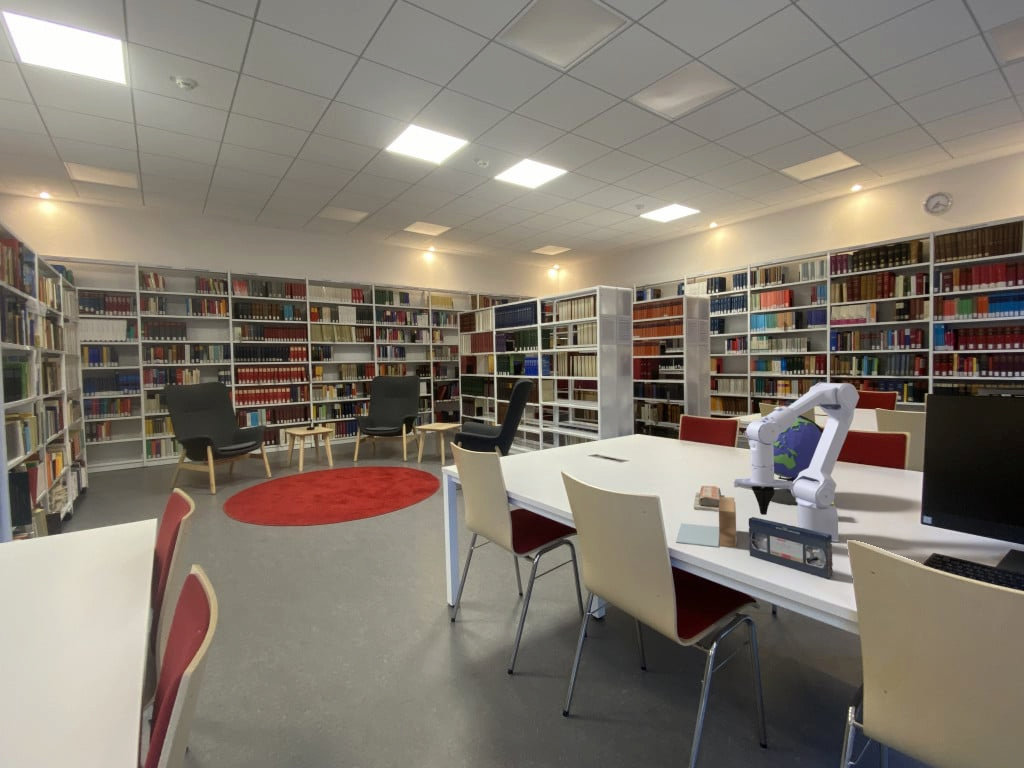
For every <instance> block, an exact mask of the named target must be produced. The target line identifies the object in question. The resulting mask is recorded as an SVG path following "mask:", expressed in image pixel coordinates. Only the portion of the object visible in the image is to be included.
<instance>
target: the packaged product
mask: <svg viewBox="0 0 1024 768" xmlns="http://www.w3.org/2000/svg"><path fill="white" fill-rule="evenodd" d="M720 497H726V496H725V495H723V494H722V493H721V488H720V487H718V486H715V485H713V486H712V485H701V487H700V491H699V492H696V493H695V496H694V504H693V510H695V511H706V512H707V511H709V512H719V499H720Z"/></svg>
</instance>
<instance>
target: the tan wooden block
mask: <svg viewBox="0 0 1024 768" xmlns="http://www.w3.org/2000/svg"><path fill="white" fill-rule="evenodd" d="M736 513H737V512H736V502H735V497H727V496H725V497H720V499H719V511H718V527H719V547H720V548H721V547H722V548H732V549H736V548H737V517H736V516H737V514H736Z"/></svg>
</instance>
